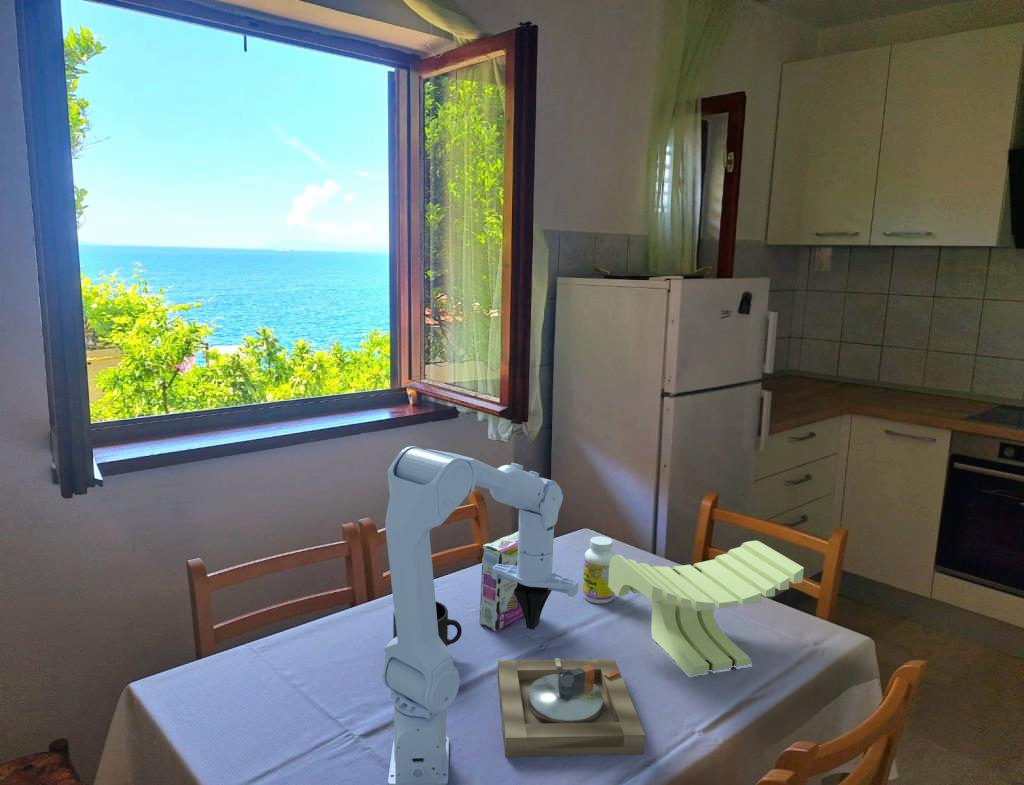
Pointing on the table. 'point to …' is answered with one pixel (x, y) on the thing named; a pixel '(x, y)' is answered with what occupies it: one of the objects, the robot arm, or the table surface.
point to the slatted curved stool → (704, 600)
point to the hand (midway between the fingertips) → (532, 626)
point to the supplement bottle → (598, 571)
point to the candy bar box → (499, 585)
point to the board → (537, 738)
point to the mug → (440, 625)
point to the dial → (566, 697)
